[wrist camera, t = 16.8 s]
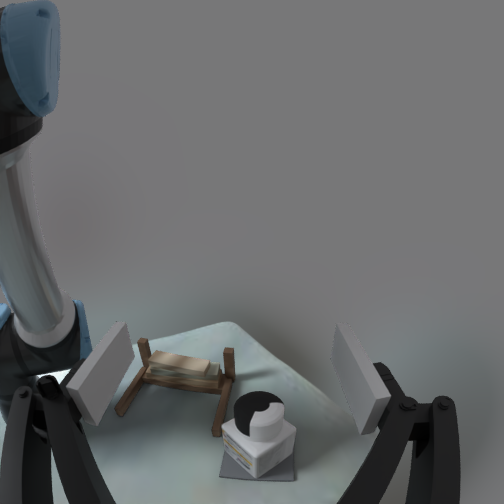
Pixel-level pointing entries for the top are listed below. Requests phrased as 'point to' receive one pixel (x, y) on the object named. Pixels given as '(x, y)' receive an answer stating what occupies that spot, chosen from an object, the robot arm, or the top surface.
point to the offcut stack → (184, 370)
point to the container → (258, 433)
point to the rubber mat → (277, 473)
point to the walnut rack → (182, 385)
